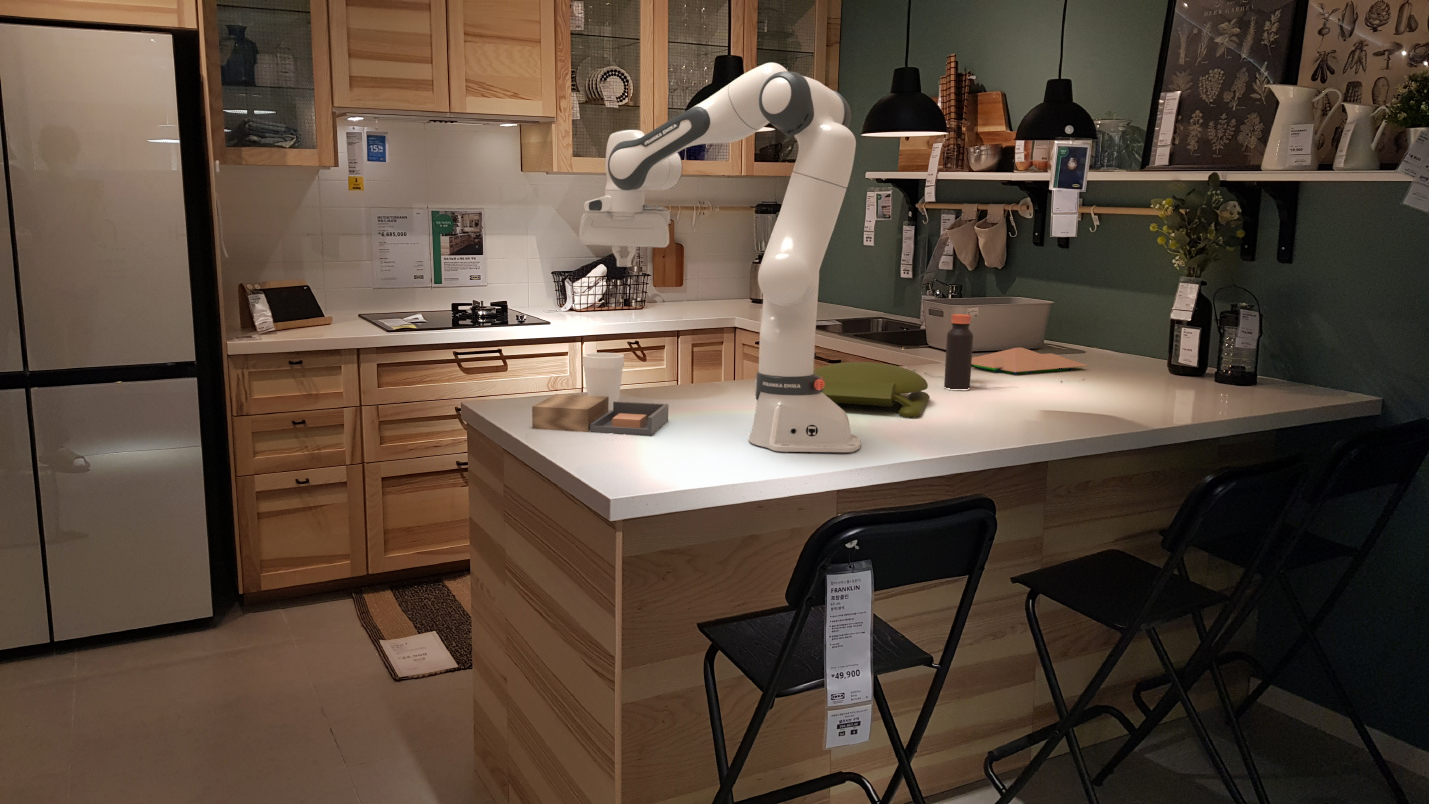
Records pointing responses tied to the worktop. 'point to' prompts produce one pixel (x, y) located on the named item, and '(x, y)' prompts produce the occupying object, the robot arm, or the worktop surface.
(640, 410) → the box
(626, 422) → the terracotta tile
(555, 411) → the walnut platform
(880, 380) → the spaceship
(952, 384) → the bottle
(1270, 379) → the worktop surface
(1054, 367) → the tan and green mat
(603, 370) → the foam cup
